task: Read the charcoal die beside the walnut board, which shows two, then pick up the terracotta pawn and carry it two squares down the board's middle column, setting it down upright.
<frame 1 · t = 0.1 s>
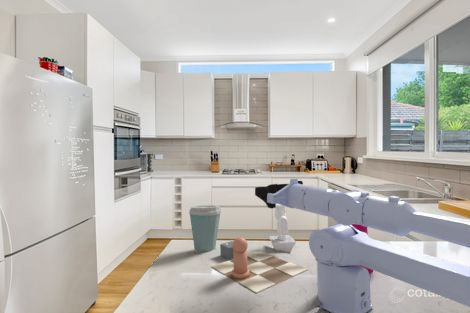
hand: (266, 189, 68), 22 cm above the countertop, tool horizontal, fingers open, 7 cm apart
disposable coffee cup: (206, 251, 85), on the countertop
die: (231, 259, 77), on the countertop
figurine: (282, 250, 84), on the countertop
board: (258, 272, 68), on the countertop
pepper mill: (360, 269, 69), on the countertop
pawn: (240, 275, 64), point 1 cm above the countertop, touching board
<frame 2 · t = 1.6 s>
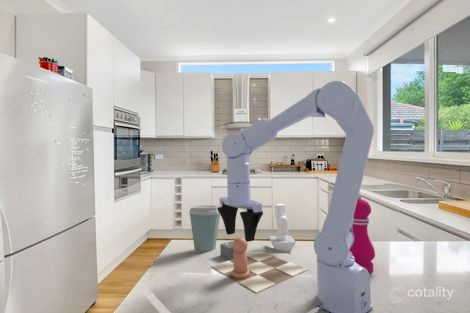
hand: (239, 237, 64), 10 cm above the countertop, tool pointing down, fingers open, 7 cm apart
nothing on the countertop moved.
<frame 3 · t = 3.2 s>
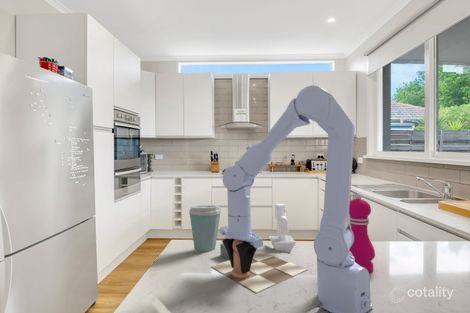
hand: (240, 269, 64), 2 cm above the countertop, tool pointing down, fingers closed on pawn, 3 cm apart
pawn: (240, 275, 64), point 1 cm above the countertop, touching board, gripper
everything else where it was.
when the fingers open (4 cm above the countertop, at t = 6.4 s): pawn drops 2 cm, resting on board.
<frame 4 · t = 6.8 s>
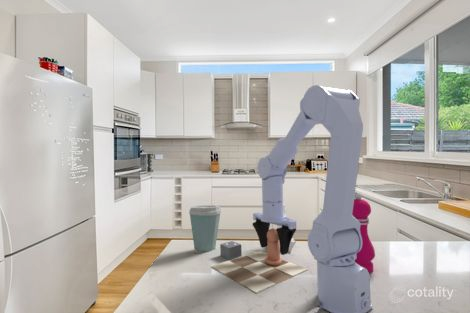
hand: (273, 250, 72), 4 cm above the countertop, tool pointing down, fingers open, 7 cm apart
pawn: (273, 262, 71), point 1 cm above the countertop, touching board
everything else where it was.
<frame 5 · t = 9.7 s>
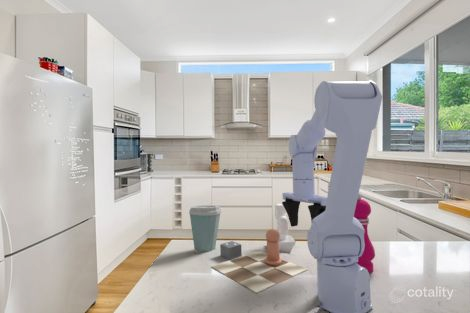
hand: (304, 228, 71), 10 cm above the countertop, tool pointing down, fingers open, 7 cm apart
nothing on the countertop moved.
at the end: pawn 0.3 cm from the target spot on the board, point 1.0 cm above the board's base; pawn tilted 0°; the gripper is holding nothing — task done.
